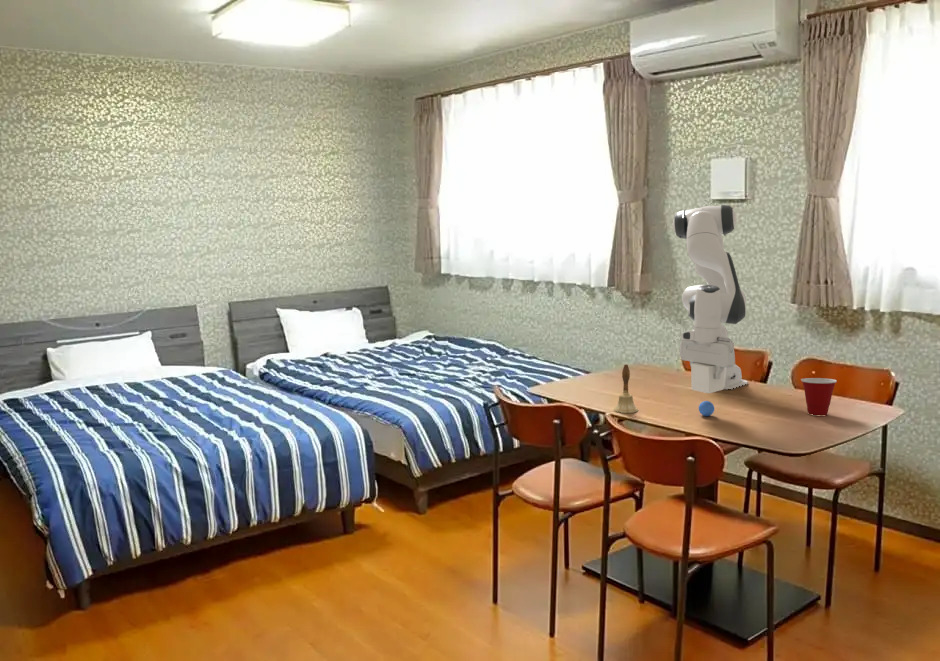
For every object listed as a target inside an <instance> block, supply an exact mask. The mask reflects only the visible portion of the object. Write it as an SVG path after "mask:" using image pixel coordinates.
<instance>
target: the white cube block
mask: <svg viewBox="0 0 940 661" xmlns="http://www.w3.org/2000/svg"><path fill="white" fill-rule="evenodd" d="M690 369H691V370H690V371H691V372H690V374H691V375H690V378H691V380H690V382H691V391H696V392H699V393H705V394H713V393H715V392H720V391H722V390H725V389H724V385H723V371H722V373H721V377H720V379H718V380H717V379H714V378H713V377H714V376H713V374H716V372H717V370H718V369H716V366H715V365H709V364H703V363H693V364H691V366H690Z"/></svg>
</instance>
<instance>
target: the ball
mask: <svg viewBox="0 0 940 661" xmlns="http://www.w3.org/2000/svg"><path fill="white" fill-rule="evenodd" d="M698 411H699V413H700V415H702V416H704V417H710V416H711V415H713V414H714V411H715V405H714V404H713V403H712V402H711V401H709V400H704V401H703V400H702V402H700V403H699V405H698Z"/></svg>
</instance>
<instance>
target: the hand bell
mask: <svg viewBox="0 0 940 661" xmlns="http://www.w3.org/2000/svg"><path fill="white" fill-rule="evenodd" d="M630 372H631V371H630V367H629V364H625V363H624V364H623V368H622V372H621V375H622V376H621V377H622V382H623V392H622V393H621V394H619V396H618V401H617V404H616V406H615V407H614V408H613V411H614V410H615V411H617V412H616V413H619V412H621V414H633V413H637V412H639V409H638V408H637V406H636V405H635V403H634V399H633V394H631V393H629V380H630V377H631V376H630V375H631V373H630ZM615 411H614V412H615Z"/></svg>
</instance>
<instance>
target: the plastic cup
mask: <svg viewBox="0 0 940 661" xmlns="http://www.w3.org/2000/svg"><path fill="white" fill-rule="evenodd" d="M800 381H801V383H802V386H803V389H804V396H805V404H806V409H807V413H809V414H813V415H826V416H828V414H829V410H830V408H829V407H830V406H831V405H830V404H831V401H832V396H833V392H834V388H835V387H836V386H835V385H836V383H838V382H837V380H836V379H835V378H834V379H833V378H825V377H824V378H822V377H810V378H809V377H808V378H806V377H805V378H800ZM809 414H808V415H809Z"/></svg>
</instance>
